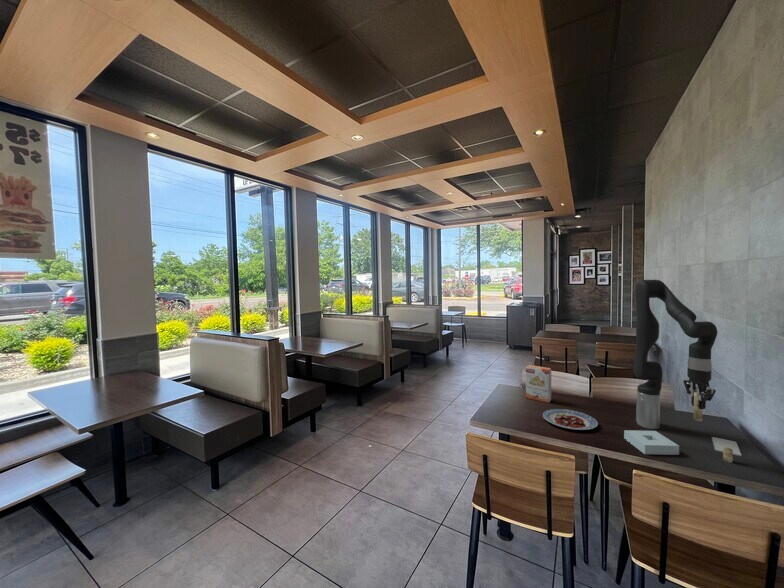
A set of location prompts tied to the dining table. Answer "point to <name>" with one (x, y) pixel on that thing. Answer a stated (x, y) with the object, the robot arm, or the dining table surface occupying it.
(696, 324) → the robot arm
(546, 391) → the cracker box
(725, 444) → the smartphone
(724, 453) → the short pin
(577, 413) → the ceramic plate
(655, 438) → the hole block
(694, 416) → the long pin
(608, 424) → the dining table surface
